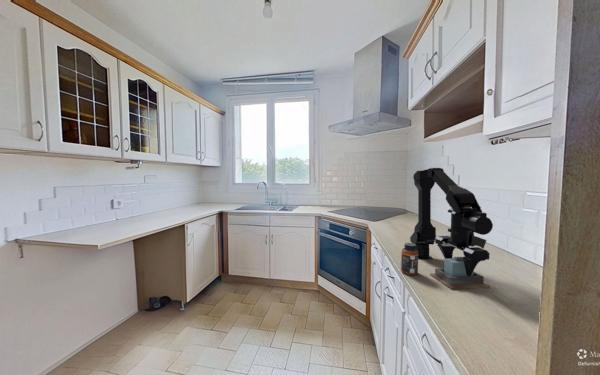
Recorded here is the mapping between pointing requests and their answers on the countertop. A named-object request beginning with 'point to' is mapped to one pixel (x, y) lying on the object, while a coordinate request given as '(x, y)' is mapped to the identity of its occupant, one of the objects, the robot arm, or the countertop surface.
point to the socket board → (459, 280)
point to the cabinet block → (455, 267)
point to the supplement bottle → (409, 259)
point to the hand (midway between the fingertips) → (458, 270)
